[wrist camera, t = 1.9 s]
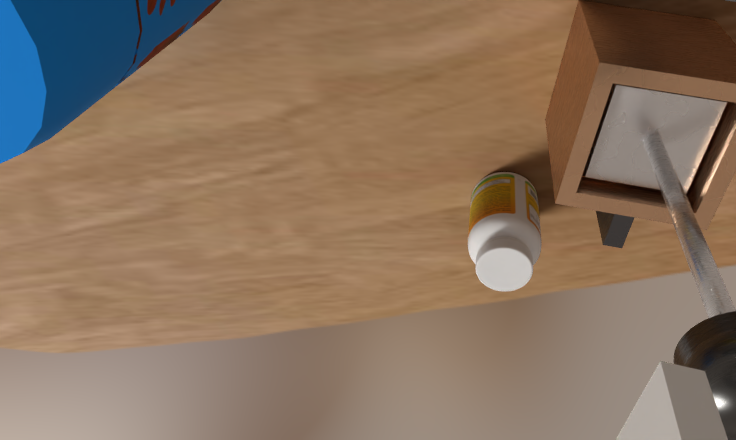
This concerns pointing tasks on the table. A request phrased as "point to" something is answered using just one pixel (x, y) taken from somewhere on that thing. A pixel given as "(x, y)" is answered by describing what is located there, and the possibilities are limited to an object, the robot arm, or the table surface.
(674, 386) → the robot arm
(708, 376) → the grey capped rod
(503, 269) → the supplement bottle
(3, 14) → the thermos
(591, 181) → the light wood box
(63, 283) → the table surface
